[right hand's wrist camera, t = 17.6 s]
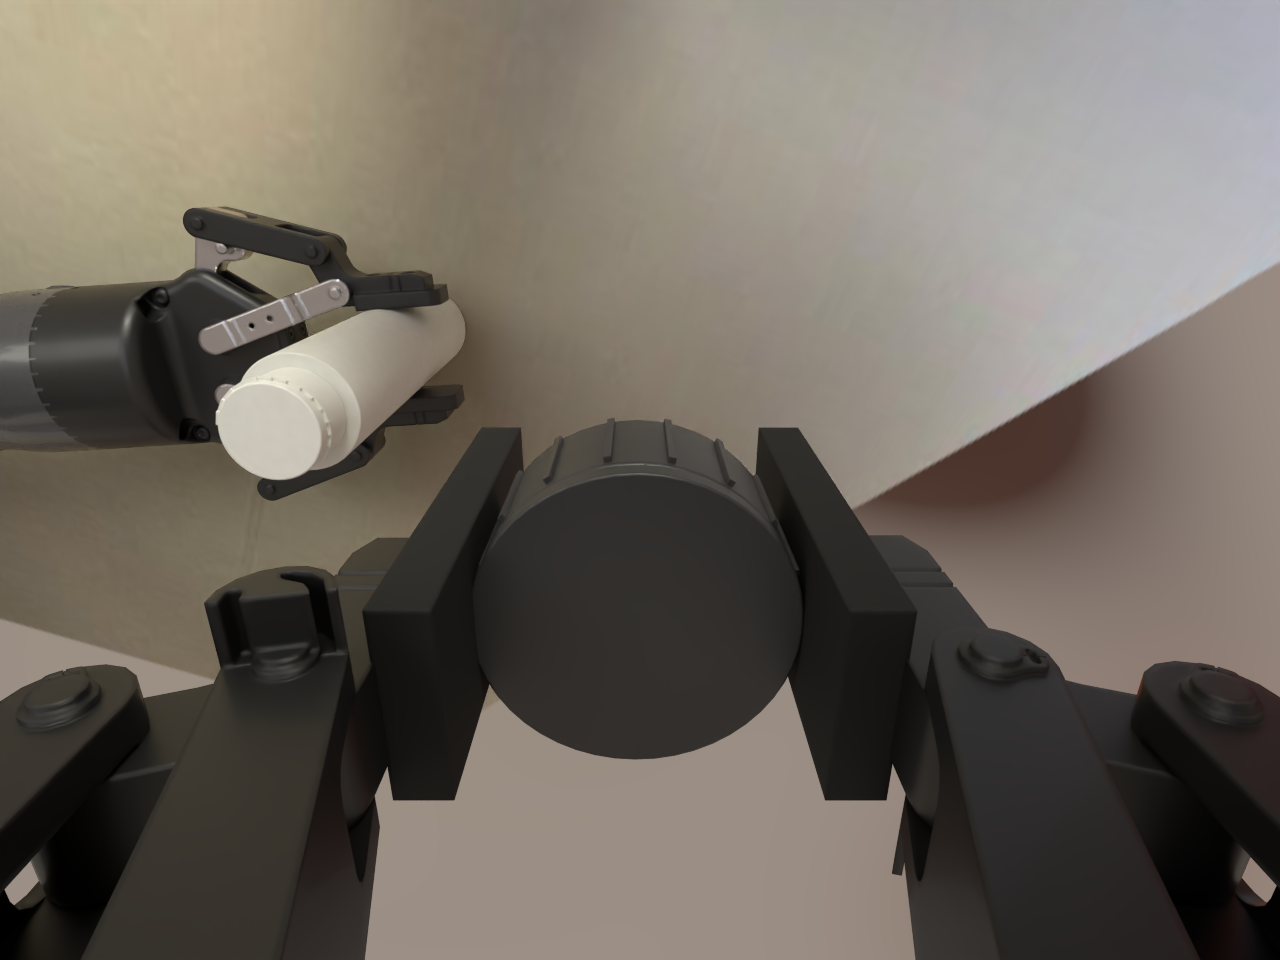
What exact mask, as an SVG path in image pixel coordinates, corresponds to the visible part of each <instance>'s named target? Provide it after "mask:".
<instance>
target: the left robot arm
mask: <svg viewBox="0 0 1280 960" xmlns="http://www.w3.org/2000/svg"><path fill="white" fill-rule="evenodd" d="M183 224H184V227H185V229H186V230H187V232H188V233H189V234H191V235H192V236H194V237H196V239H195V268H194V269H190V270H188V271H186V272H185V273H183V274H182V275H181V276H180V277H178V278H177V279H175V280H171V281H156V282H142V283H127V284H113V285H97V286H83V287H74V286H51V287H49V288H46V289H39V290H25V291H16V292H10V293H4V294H0V450H26V451H39V452H66V451H82V450H98V449H115V448H130V447H145V446H162V445H178V444H195V443H205V442H216V443H221V444H223V443H222V441H221V438H220V435H219V430H218V425H216V411H217V410H218V407H219V404H220V401H221V399H222V398H223V397H224V396H225V394H226V393H227V392H228V391H229V389H231V388H232V387H234V386H235V385H237V384H238V383H240V382H241V380H242V378H243V376H244V375H245V373H246V372H247V370H248V369H249V368H250V367H251V366H252V365H253V364H255V363H256V362H257V361H259V360H261V359H262V358H264V357H266V356H268V355H271V354H273V353H275V352H277V351H279V350H282V349H284V348H286V347H288V346H290V345H292V344H295V343H297V342H299V341H301V340H303V339H306V338H308V333H307V329H306V325H305V320H308V319H310V318H313V317H316V316H318V315H321V314H323V313H326V312H328V311H331V310H334V309H336V308H339V307H346V306H355V308H356V311H366V310H377V309H396V308H411V307H425V306H435V305H440V304H443V303H444V302H446V301H448V300H449V297H448V291H447V284H434V283H433V277H432V274H430V273H427V272H423V271H406V272H391V273H377V274H365V273H362V272H360V271H358V270H357V269H356V268H355V267H354V266H353V265H352V263H351V262H350V260H349V258H348V256H347V254H346V252H347V247H346V243H345V241H344V240H343V239H342V238H341V237H340V236H338V235H336V234H333V233H329V232H325V231H321V230H317V229H313V228H309V227H305V226H301V225H297V224H293V223H289V222H285V221H281V220H277V219H273V218H269V217H265V216H261V215H257V214H253V213H250V212H246V211H242V210H238V209H234V208H230V207H203V208H192V209H189V210H187V211H186V212H185V214H184V216H183ZM253 252H256V253H261V254H265V255H269V256H273V257H277V258H281V259H285V260H289V261H293V262H297V263H301V264H305V265H309V266H310V268H311V269H312V271H313V273H314V275H315V276H316V278H317V280H318V281H319V284H317V285H314V286H312V287H309V288H306V289H304V290H301V291H299V292H296V293H294V294H291V295H288V296H285V297H283V298H280V299H277V298H275V297H273V296H272V295H270V294H268V293H266V292H265V291H263V290H261V289H259V288H258V287H256V286H254V285H253V284H251V283H249V282H247V281H246V280H244V279H242V278H240V277H239V276H237V275H235V274H233V273H232V272H230V271H228V270H227V266H228V264H229V263H230V262H231V261H238V260H244V259H247V258H249V257H250V256H251V255H252V254H253ZM464 400H465V399H464V393H463V387H462V385H441V386H425V387H421V388H420V389H419V390H418V391H417V392H416V393H414V394H413V395H412V396H411V397H410V398H409V399H408V400H407V401H406V402H405V403H404V404H403V405H401V406H400V407H399V408H398V409H397V410H396V411H395V412H394V413H393V414H392V415H391V416H390V417H389V418H387V419H386V420H385V421H384V422H383V423H382V424H381V425H380V426H379V427H378V428H377V429H376V430H374V431H373V432H372V433H371V434H370V435H369V436H368V437H367V438H366V439H365V440H364V441H363V442H362V443H360V444H359V445H358V446H357V447H356V448H355V449H354V450H353V451H352V452H351V453H350V454H349V455H348V456H346V457H345V458H344V459H343V460H342V461H340V462H339V463H337V464H335V465H333V466H330V467H327V468H324V469H318V470H309V471H307V472H306V473H304V474H303V475H301V476H299V477H296V478H293V479H287V480H271V479H266V478H263V479H261V480H260V481H259V483H258V486H257V488H258V492H259V494H260V495H261V496H262V497H263V498H265V499H267V500H271V501H274V500H278V499H280V498H283V497H285V496H288V495H290V494H293V493H296V492H298V491H301V490H303V489H306V488H309V487H311V486H314V485H316V484H319V483H322V482H324V481H327V480H329V479H332V478H334V477H337V476H340V475H342V474H345V473H347V472H350V471H353V470H355V469H358V468H360V467H363V466H365V465H366V464H367V463H368V462H369V461H370V460H371V459H372V458H373V457H374V456H375V455H376V454H377V453H378V452H379V451H380V450H381V449H382V448H383V447H384V445H385V436H384V432H385V427H388V426H404V425H416V424H418V425H420V424H437V423H439V422H442V421H444V420H446V419H447V418H448V417H449V416H450V415H451V414H452V412H453V411H454V409H457V408H458V407H459V406H460V405H461V404H462V403H463V401H464Z"/></svg>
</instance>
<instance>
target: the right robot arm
mask: <svg viewBox="0 0 1280 960" xmlns="http://www.w3.org/2000/svg"><path fill="white" fill-rule="evenodd" d="M519 470H521V471H522V472H524V471H523V455H522V439H521V428H481V429H480V431H479V432H478V434H477V435H476V437H475V439H474V440H473V442H472V443H471V445H470V446H469V448H468V449H467V451H466V452H465V454H464V455H463V457H462V458H461V460H460V461H459V463H458V465H457V466H456V468H455V469H454V471H453V472H452V474H451V475H450V477H449V478H448V480H447V481H446V483H445V484H444V486H443V488H442V489H441V491H440V492H439V494H438V495H437V497H436V498H435V500H434V501H433V503H432V504H431V506H430V507H429V509H428V510H427V512H426V514H425V515H424V517H423V518H422V520H421V521H420V523H419V524H418V526H417V527H416V529H415V530H414V532H413V533H412V535H411V536H410V538H377V539H375V540H373V541H372V542H370V543H368V544H367V545H365V546H364V547H362V548H360V549H359V550H357V551H355V552H354V553H352V555H351V556H350V557H349V558H348V560H347V561H346V562H345V564H344V565H343V566H342V567H341V569H340V570H339V574H338V575H335V576H333V575H332V574H330V573H329V572H327V571H326V570H323V569H318V568H314V567H309V566H292V567H280V568H275V569H269V570H264V571H259V572H256V573H253V574H250V575H248V576H245V577H242V578H239V579H236V580H234V581H232V582H231V583H229V584H227V585H225V586H224V587H222V588H220V589H218V590H217V591H215V593H214V594H213V595H212V596H211V597H210V598H209V599H208V600H207V601H206V602H205V603H204V605H205V609H206V613H207V616H208V620H209V624H210V628H211V632H212V636H213V640H214V644H215V647H216V651H217V655H218V659H219V663H220V667H221V669H220V671H219V673H218V676H217V678H216V680H215V682H214V684H210V685H206V686H202V687H199V688H193V689H188V690H183V691H178V692H173V693H167V694H162V695H157V696H152V697H147V698H143V695H142V692H141V689H140V685H139V682H138V679H137V676H136V675H135V674H134V673H132V672H131V671H130V670H128V669H127V668H126V667H120V666H113V665H96V666H86V667H75V668H71V669H66V671H64V672H63V671H59V672H56V673H53V674H49V675H47V676H45V677H44V678H42V679H41V680H38V681H36V682H34V683H31V684H29V685H27V686H24V687H22V688H20V689H19V690H17V691H16V692H14V693H13V694H11V695H10V696H8V697H6V698H5V699H3V700H2V701H0V960H365V952H366V943H367V934H368V925H369V917H370V908H371V899H372V890H373V882H374V873H375V864H376V856H377V847H378V838H379V829H380V825H379V819H378V813H377V807H376V801H375V794H376V791H377V789H378V787H379V784H380V782H381V780H382V778H383V775H384V773H385V771H386V768H387V766H388V772H389V778H390V784H391V790H392V796H393V800H455V796H456V793H457V789H458V786H459V783H460V780H461V776H462V773H463V770H464V766H465V763H466V760H467V757H468V753H469V750H470V746H471V743H472V740H473V737H474V733H475V730H476V727H477V723H478V720H479V717H480V713H481V710H482V707H483V703H484V700H485V697H486V693H487V690H488V687H489V683H488V681H487V680H486V677H485V675H484V673H483V671H482V669H481V667H480V665H479V659H478V650H477V640H476V630H475V620H474V610H473V598H472V587H473V584H474V580H475V577H476V574H477V571H478V568H479V563H480V560H481V558H482V556H483V553H484V551H485V549H486V546H487V544H488V542H489V539H490V537H491V534H492V532H493V530H494V527H495V525H496V523H497V519H498V516H499V514H500V511H501V509H502V507H503V504H504V502H505V499H506V497H507V495H508V492H509V490H510V487H511V485H512V483H513V480H514V478H515V476H516V474H517V472H518V471H519ZM756 474H757V475H758V476H759V478H760V480H761V482H762V484H763V487H764V489H765V492H766V494H767V496H768V499H769V501H770V503H771V506H772V508H773V510H774V513H775V515H776V517H777V519H778V520H779V523H780V525H781V527H782V530H783V532H784V534H785V537H786V539H787V541H788V544H789V546H790V548H791V551H792V553H793V555H794V558H795V560H796V563H797V565H798V567H799V570H800V576H797V577H798V580H799V584H800V588H801V591H802V599H803V608H804V618H803V632H802V637H801V643H800V648H799V650H798V653H797V656H796V659H795V662H794V665H793V667H792V669H791V671H790V673H789V675H788V678H789V682H790V685H791V688H792V692H793V695H794V698H795V702H796V705H797V708H798V711H799V715H800V718H801V721H802V725H803V728H804V731H805V735H806V738H807V741H808V745H809V748H810V751H811V755H812V758H813V761H814V765H815V768H816V771H817V774H818V778H819V781H820V784H821V788H822V791H823V794H824V798H825V800H887V794H888V788H889V782H890V776H891V769H892V763H893V766H894V768H895V770H896V773H897V775H898V777H899V779H900V782H901V784H902V786H903V788H904V791H905V793H906V796H905V801H904V807H903V812H902V818H901V824H900V829H899V835H898V841H897V846H896V852H895V858H894V864H893V870H892V874H896V875H902V871H903V866H904V863H905V871H906V880H907V889H908V898H909V906H910V915H911V924H912V932H913V941H914V950H915V959H916V960H1280V697H1278V696H1277V695H1275V694H1274V693H1272V692H1271V691H1269V690H1267V689H1266V688H1264V687H1263V686H1261V685H1260V684H1257V683H1255V682H1253V681H1250V680H1248V679H1246V678H1244V677H1241V676H1239V675H1238V674H1236V673H1235V672H1232V671H1230V670H1227V669H1223V668H1220V667H1218V668H1215V667H1214V666H1212V665H1207V664H1202V663H1189V662H1179V661H1172V662H1165V663H1158V664H1154V665H1153V666H1152V667H1150V668H1149V669H1148V670H1146V671H1145V672H1144V674H1143V677H1142V680H1141V684H1140V687H1139V690H1138V693H1137V695H1135V694H1129V693H1124V692H1119V691H1114V690H1108V689H1103V688H1098V687H1093V686H1088V685H1082V684H1078V683H1074V682H1070V681H1066V680H1065V678H1064V676H1063V674H1062V672H1061V670H1060V668H1059V667H1058V665H1057V664H1056V663H1055V662H1054V661H1053V659H1052V658H1051V657H1050V656H1049V654H1048V653H1046V652H1045V651H1043V650H1042V649H1040V648H1039V647H1037V646H1036V645H1034V644H1033V643H1031V642H1030V641H1027V640H1025V639H1023V638H1020V637H1018V636H1015V635H1013V634H1010V633H1008V632H1004V631H999V630H995V629H990V628H988V627H987V626H986V625H985V623H984V622H983V621H982V620H981V618H980V617H979V616H978V614H977V613H976V612H975V611H974V609H973V608H972V607H971V605H970V604H969V603H968V602H967V600H966V599H965V598H964V597H963V595H962V594H961V593H960V592H959V590H958V589H957V588H956V587H953V583H952V581H951V580H950V579H949V578H948V576H947V575H946V574H945V572H941V567H940V566H939V565H938V564H937V562H936V561H935V560H934V559H933V557H932V556H931V555H930V553H929V552H928V551H927V550H925V549H924V548H922V547H920V546H919V545H917V544H915V543H914V542H912V541H910V540H909V539H907V538H905V537H904V536H868V534H867V533H866V531H865V530H864V528H863V526H862V525H861V523H860V522H859V520H858V519H857V517H856V516H855V514H854V513H853V511H852V510H851V508H850V507H849V505H848V504H847V502H846V500H845V499H844V497H843V496H842V494H841V493H840V491H839V490H838V488H837V487H836V485H835V484H834V482H833V481H832V479H831V478H830V476H829V474H828V473H827V471H826V470H825V468H824V467H823V465H822V464H821V462H820V461H819V459H818V458H817V456H816V455H815V453H814V452H813V450H812V448H811V447H810V445H809V444H808V442H807V441H806V439H805V438H804V436H803V435H802V433H801V432H800V430H799V429H798V428H759V432H758V448H757V464H756ZM1250 857H1251V858H1252V859H1253V860H1254V861H1255V862H1256V863H1257V864H1258V865H1259V867H1260V868H1261V869H1262V870H1263V871H1264V872H1265V873H1266V874H1267V875H1268V876H1269V877H1270V879H1271V880H1272V881H1273V882H1274V883H1275V884H1276V885H1277V886H1276V888H1275V891H1274V893H1273V895H1272V897H1271V899H1270V900H1269V901H1268V902H1265V901H1263V900H1262V899H1261V898H1260V897H1259V896H1258V895H1257V894H1256V893H1254V892H1253V890H1252V889H1251V888H1250V887H1249V886H1248V885H1247V884H1246V882H1245V881H1244V880H1243V879H1242V876H1243V873H1244V871H1245V869H1246V866H1247V864H1248V861H1249V859H1250ZM30 861H31V863H32V865H33V868H34V870H35V872H36V875H37V877H38V880H39V882H38V883H37V884H36V885H35V886H34V887H33V888H32V890H31V891H30V892H29V893H28V894H27V895H26V896H25V897H24V898H23V899H21V900H20V901H19V902H18V903H16V904H15V905H13V904H12V903H11V902H10V901H9V899H8V897H7V894H6V892H5V890H4V889H5V888H6V887H7V886H8V885H9V884H10V883H11V881H12V880H13V879H14V878H15V877H16V876H17V875H18V874H19V873H20V872H21V870H22V869H23V868H24V867H25V866H26V865H27V864H28V863H29V862H30Z"/></svg>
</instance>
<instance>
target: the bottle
mask: <svg viewBox="0 0 1280 960" xmlns="http://www.w3.org/2000/svg"><path fill="white" fill-rule="evenodd" d="M465 334H466V328H465V322H464V318H463V316H462V313H461V311H460V310H459V308H458V307H457V305H456V304H455V303H454V302H453V301H452V300H451V299H450V298H449V300H448V301H446V302H444V303H443V304H440V305H435V306H425V307H411V308H396V309H377V310H367V311H364V312H362V313H360V314H358V315H356V316H354V317H351V318H349V319H347V320H345V321H343V322H340V323H338V324H336V325H334V326H332V327H330V328H327V329H325V330H323V331H321V332H319V333H316V334H314V335H312V336H310V337H308V338H306V339H303V340H301V341H299V342H297V343H295V344H292V345H290V346H288V347H286V348H284V349H282V350H279V351H277V352H275V353H273V354H271V355H268V356H266V357H264V358H262V359H261V360H259V361H257V362H256V363H255V364H253V365H252V366H251V367H250V368H249V369H248V370H247V372H246V373H245V375H244V376H243V378H242V380H241V382H240V383H238V384H237V385H235V386H234V387H232V388H231V389H229V391H228V392H227V393H226V394H225V396H224V397H223V398H222V399H221V401H220V404H219V407H218V410H217V411H216V425H218V430H219V435H220V438H221V441H222V443H223V445H224V447H225V449H226V451H227V452H228V453H229V455H230V456H231V457H232V458H233V459H234V460H235V462H237V463H238V464H239V465H240V466H241V467H243V468H244V469H245V470H247V471H249V472H251V473H252V474H255V475H257V476H259V477H263V478H266V479H271V480H287V479H293V478H296V477H299V476H301V475H303V474H304V473H306V472H307V471H309V470H318V469H324V468H327V467H330V466H333V465H335V464H337V463H339V462H340V461H342V460H343V459H344V458H345V457H346V456H348V455H349V454H350V453H351V452H352V451H353V450H354V449H355V448H356V447H357V446H358V445H359V444H360V443H362V442H363V441H364V440H365V439H366V438H367V437H368V436H369V435H370V434H371V433H372V432H373V431H374V430H376V429H377V428H378V427H379V426H380V425H381V424H382V423H383V422H384V421H385V420H386V419H387V418H389V417H390V416H391V415H392V414H393V413H394V412H395V411H396V410H397V409H398V408H399V407H400V406H401V405H403V404H404V403H405V402H406V401H407V400H408V399H409V398H410V397H411V396H412V395H413V394H414V393H416V392H417V391H418V390H419V389H420V388H421V387H422V386H423V385H424V384H425V383H426V382H427V381H428V380H430V379H431V378H432V377H433V376H434V375H435V374H436V373H437V372H438V371H439V370H440V369H441V368H442V367H444V366H445V365H446V364H447V363H448V362H449V361H450V360H451V359H452V358H453V357H454V356H455V355H457V353H458V352H459V351H460V349H461V347H462V345H463V343H464V340H465Z"/></svg>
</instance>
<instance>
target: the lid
mask: <svg viewBox="0 0 1280 960" xmlns="http://www.w3.org/2000/svg"><path fill="white" fill-rule="evenodd" d="M797 576H800V570H799V567H798V565H797V563H796V560H795V558H794V555H793V553H792V551H791V548H790V546H789V544H788V541H787V539H786V537H785V534H784V532H783V530H782V527H781V525H780V523H779V520H778V519H777V517H776V515H775V513H774V510H773V508H772V506H771V503H770V501H769V499H768V496H767V494H766V492H765V489H764V487H763V484H762V482H761V480H760V478H759V476H758V475H757V474H755V475H754V476H752V475H751V474H750V472H749V471H748V470H747V469H746V468H745V467H744V465H743V464H742V463H741V462H740V461H739V460H738V459H737V458H735V457H734V456H733V455H732V454H731V453H730V452H729V451H727V450H726V449H725V448H724V445H723V442H722V441H720V440H719V439H716V441H715V442H714V441H713V440H711V439H709V438H707V437H705V436H703V435H701V434H699V433H696V432H694V431H691V430H688V429H685V428H682V427H680V426H677V425H672V423H671V420H667V419H665V420H664V423H662V422H655V421H642V420H634V421H617V422H615V419H614V418H611V419H608V420H607V423H606V424H601V425H597V426H594V427H591V428H588V429H584V430H581V431H579V432H577V433H575V434H573V435H570V436H568V437H566V438H564V439H563V438H562V437H561V436H559V437H558V438H556V439H555V442H554V445H553V446H551V447H550V448H548V449H547V450H546V451H545V452H543V453H542V454H541V455H540V456H539V457H538V458H536V459H535V460H534V461H533V462H532V463H531V464H530V466H529V467H528V468H527V469H526V470H525V471H524V472H522V471H521V470H519V471H518V472H517V474H516V476H515V478H514V480H513V483H512V485H511V487H510V490H509V492H508V495H507V497H506V499H505V502H504V504H503V507H502V509H501V511H500V514H499V516H498V519H497V523H496V525H495V527H494V530H493V532H492V534H491V537H490V539H489V542H488V544H487V546H486V549H485V551H484V553H483V556H482V558H481V560H480V563H479V568H478V571H477V574H476V577H475V580H474V584H473V587H472V598H473V610H474V620H475V630H476V640H477V650H478V659H479V665H480V667H481V669H482V671H483V673H484V675H485V677H486V680H487V681H488V683H489V684H490V686H491V687H492V689H493V690H494V692H495V693H496V695H497V696H498V697H499V698H500V699H501V700H502V702H503V703H504V704H505V705H506V706H507V707H508V708H509V709H510V710H511V711H512V712H513V713H514V714H515V715H516V716H517V717H519V718H520V719H521V720H522V721H523V722H524V723H526V724H527V725H529V726H530V727H532V728H533V729H535V730H536V731H537V732H539V733H540V734H542V735H544V736H546V737H548V738H550V739H552V740H554V741H556V742H557V743H560V744H562V745H565V746H568V747H570V748H573V749H575V750H579V751H582V752H586V753H590V754H593V755H598V756H604V757H611V758H619V759H655V758H662V757H668V756H675V755H679V754H683V753H687V752H691V751H694V750H697V749H699V748H702V747H705V746H708V745H710V744H713V743H715V742H717V741H719V740H721V739H723V738H725V737H727V736H729V735H730V734H732V733H734V732H735V731H737V730H738V729H740V728H741V727H743V726H744V725H746V724H747V723H748V722H749V721H750V720H752V719H753V718H754V717H755V716H756V715H758V714H759V713H760V712H761V711H762V710H763V709H764V708H765V707H766V706H767V705H768V703H769V702H770V701H771V700H772V699H773V698H774V697H775V695H776V694H777V692H778V691H779V690H780V688H781V687H782V685H783V684H784V682H785V681H786V679H787V677H788V675H789V673H790V671H791V669H792V667H793V665H794V662H795V659H796V656H797V653H798V650H799V648H800V643H801V637H802V632H803V618H804V608H803V599H802V591H801V588H800V584H799V580H798V577H797Z"/></svg>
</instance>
